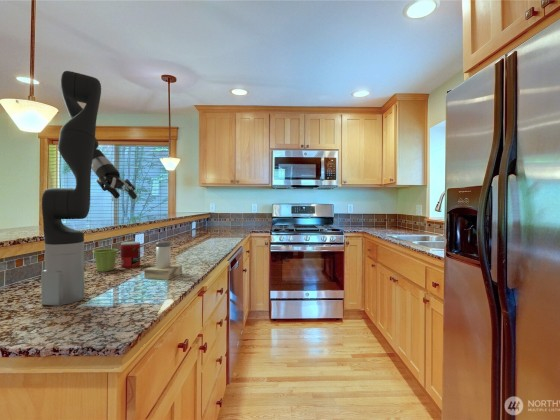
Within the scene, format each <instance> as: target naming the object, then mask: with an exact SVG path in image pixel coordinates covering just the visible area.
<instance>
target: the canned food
mask: <svg viewBox="0 0 560 420" xmlns="http://www.w3.org/2000/svg"><path fill="white" fill-rule="evenodd" d="M140 265H141V242H140V241H123V242H121V243H120V267H121V268H123V269H133V268H138V267H140Z"/></svg>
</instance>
